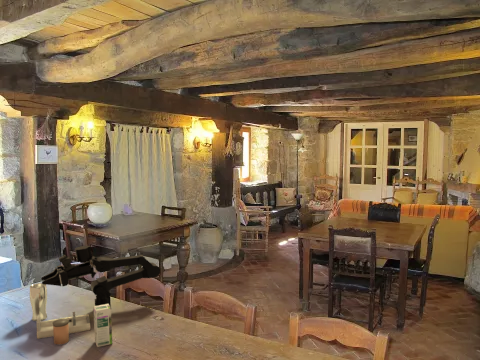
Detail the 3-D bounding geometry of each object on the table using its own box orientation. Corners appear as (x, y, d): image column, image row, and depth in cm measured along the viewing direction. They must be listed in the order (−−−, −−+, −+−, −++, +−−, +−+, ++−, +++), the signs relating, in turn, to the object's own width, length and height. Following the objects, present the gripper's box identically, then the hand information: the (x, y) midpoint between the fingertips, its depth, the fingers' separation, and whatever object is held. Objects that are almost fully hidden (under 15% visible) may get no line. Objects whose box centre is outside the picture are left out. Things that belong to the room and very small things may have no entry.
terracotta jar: (69, 336, 166) (68, 317, 166) (69, 343, 161) (68, 323, 160) (53, 339, 164) (52, 320, 163) (53, 346, 159) (52, 325, 158)
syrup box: (97, 347, 157) (95, 310, 156) (94, 341, 162) (93, 305, 161) (112, 344, 160) (111, 308, 159) (109, 338, 165) (108, 302, 164)
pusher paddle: (75, 320, 179) (75, 311, 179) (76, 328, 172) (75, 319, 171) (65, 322, 177) (65, 313, 177) (65, 330, 170) (65, 320, 170)
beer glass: (35, 323, 179) (34, 289, 178) (27, 319, 183) (26, 286, 182) (51, 317, 185) (49, 285, 183) (43, 314, 189) (41, 281, 187)
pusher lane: (88, 319, 183) (88, 306, 182) (90, 329, 172) (89, 315, 172) (38, 327, 175) (37, 313, 174) (37, 338, 165) (36, 324, 164)
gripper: (73, 250, 196) (37, 259, 189) (77, 256, 179) (38, 266, 172) (78, 273, 196) (42, 283, 189) (83, 281, 180) (43, 292, 173)
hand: (41, 280), depth 181 cm, fingers open, 9 cm apart
